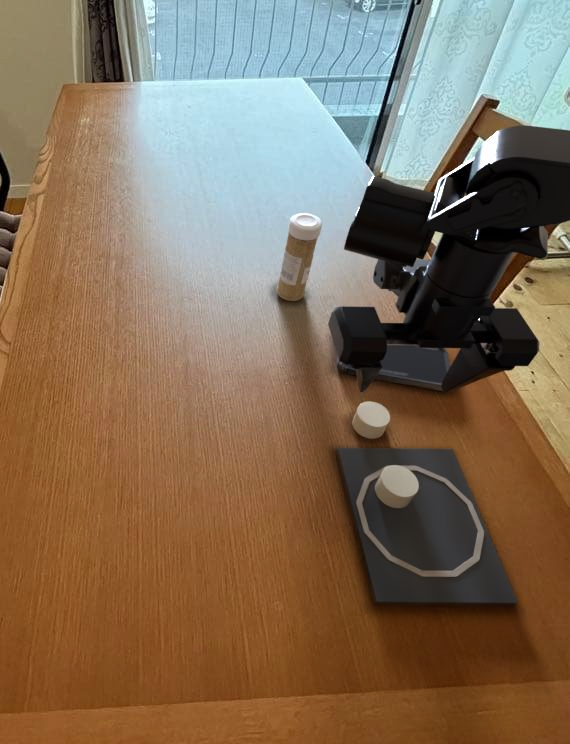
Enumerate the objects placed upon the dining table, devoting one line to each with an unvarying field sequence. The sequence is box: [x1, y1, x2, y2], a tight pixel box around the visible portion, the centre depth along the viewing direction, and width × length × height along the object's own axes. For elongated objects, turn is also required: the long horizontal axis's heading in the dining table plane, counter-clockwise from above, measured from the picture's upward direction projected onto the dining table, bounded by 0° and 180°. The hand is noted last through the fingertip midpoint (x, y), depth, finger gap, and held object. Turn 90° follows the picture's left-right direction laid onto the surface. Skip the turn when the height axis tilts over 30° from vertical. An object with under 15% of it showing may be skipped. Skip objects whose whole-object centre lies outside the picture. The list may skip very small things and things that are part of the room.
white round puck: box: [375, 465, 419, 508], centre depth 62 cm, size 4×4×2 cm
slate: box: [335, 447, 519, 608], centre depth 61 cm, size 14×18×1 cm
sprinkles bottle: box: [275, 212, 323, 302], centre depth 84 cm, size 5×5×14 cm
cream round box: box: [351, 401, 391, 440], centre depth 70 cm, size 4×4×2 cm
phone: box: [336, 347, 451, 392], centre depth 78 cm, size 8×1×15 cm
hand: (402, 389), depth 60 cm, fingers open, 9 cm apart
